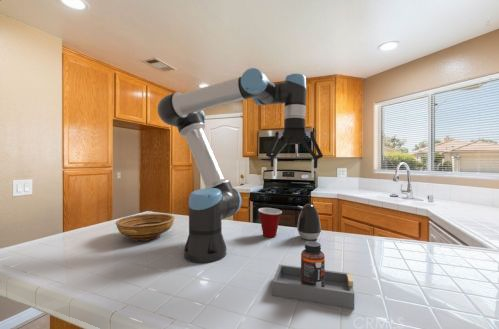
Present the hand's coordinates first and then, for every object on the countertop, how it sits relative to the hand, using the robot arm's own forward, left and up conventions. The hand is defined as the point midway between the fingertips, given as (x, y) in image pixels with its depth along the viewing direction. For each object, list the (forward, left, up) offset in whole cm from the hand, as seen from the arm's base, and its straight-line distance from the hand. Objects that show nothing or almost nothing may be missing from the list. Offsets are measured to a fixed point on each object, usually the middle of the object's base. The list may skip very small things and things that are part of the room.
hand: (293, 176), depth 87 cm
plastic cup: (-12, +18, -28) cm, 36 cm away
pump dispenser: (+5, +20, -28) cm, 35 cm away
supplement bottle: (+8, -24, -27) cm, 37 cm away
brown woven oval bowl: (-65, +1, -28) cm, 71 cm away
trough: (+8, -24, -28) cm, 38 cm away
